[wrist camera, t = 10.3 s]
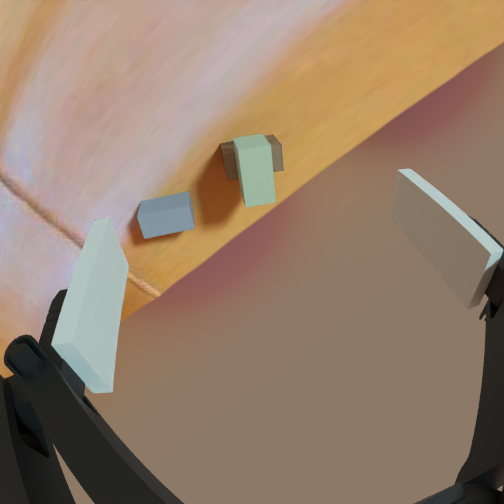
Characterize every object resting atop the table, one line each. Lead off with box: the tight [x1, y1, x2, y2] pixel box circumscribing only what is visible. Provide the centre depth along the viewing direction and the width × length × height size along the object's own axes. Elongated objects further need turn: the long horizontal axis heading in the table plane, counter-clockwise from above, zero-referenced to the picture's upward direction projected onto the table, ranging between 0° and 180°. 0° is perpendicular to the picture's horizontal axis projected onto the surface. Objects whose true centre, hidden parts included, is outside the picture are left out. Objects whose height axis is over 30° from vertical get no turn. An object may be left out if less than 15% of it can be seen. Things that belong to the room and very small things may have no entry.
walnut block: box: [221, 135, 284, 180], centre depth 46 cm, size 8×4×5 cm, turn 97°
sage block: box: [233, 134, 276, 207], centre depth 42 cm, size 8×4×5 cm, turn 6°
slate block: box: [137, 191, 195, 239], centre depth 49 cm, size 8×4×5 cm, turn 96°
